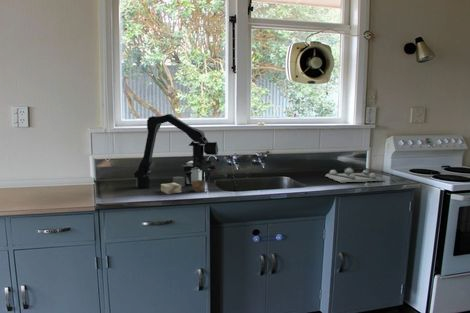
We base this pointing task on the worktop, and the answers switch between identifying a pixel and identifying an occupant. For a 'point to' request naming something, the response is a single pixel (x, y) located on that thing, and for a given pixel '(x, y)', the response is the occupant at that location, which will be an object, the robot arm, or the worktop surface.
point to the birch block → (170, 188)
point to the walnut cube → (198, 185)
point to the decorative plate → (353, 176)
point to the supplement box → (194, 173)
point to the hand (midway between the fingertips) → (198, 183)
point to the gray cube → (179, 180)
